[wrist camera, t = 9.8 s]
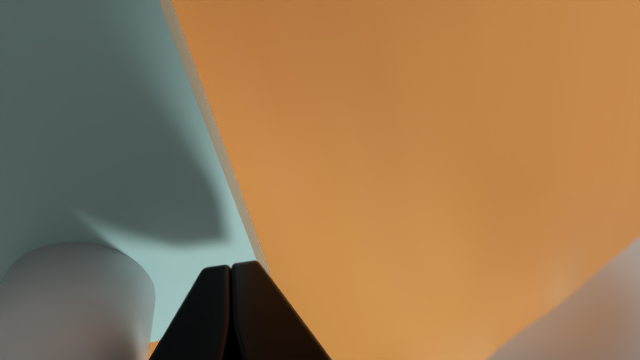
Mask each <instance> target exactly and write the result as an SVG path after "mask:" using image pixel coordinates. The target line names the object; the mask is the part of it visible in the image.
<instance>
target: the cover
mask: <svg viewBox="0 0 640 360" xmlns="http://www.w3.org/2000/svg"><path fill="white" fill-rule="evenodd" d="M252 260H256V261H258V262H259V263H260V264H261V265H262V266H263V268H264V269H265V271H266V272H267V273H268V275H269V276H270V271H269V268H268V266H267V263H266V260H265V257H264V255H263V252H262V249H261V246H260V244H259V241H258V238H257V235H256V233H255V230H254V227H253V224H252V221H251V219H250V216H249V213H248V210H247V208H246V205H245V202H244V199H243V197H242V194H241V191H240V188H239V186H238V183H237V180H236V177H235V175H234V172H233V169H232V166H231V164H230V161H229V158H228V155H227V153H226V150H225V147H224V144H223V142H222V139H221V136H220V133H219V131H218V128H217V125H216V122H215V120H214V117H213V114H212V111H211V109H210V106H209V103H208V100H207V98H206V95H205V92H204V89H203V87H202V84H201V81H200V78H199V76H198V73H197V70H196V67H195V65H194V62H193V59H192V56H191V54H190V51H189V48H188V45H187V43H186V40H185V37H184V34H183V32H182V29H181V26H180V23H179V21H178V18H177V15H176V12H175V10H174V7H173V4H172V1H171V0H0V360H148V352H149V345H150V343H151V342H155V341H158V340H161V338H162V336H163V335H164V333H165V331H166V330H167V328H168V326H169V325H170V323H171V321H172V319H173V318H174V316H175V314H176V313H177V311H178V309H179V308H180V306H181V304H182V303H183V301H184V299H185V297H186V296H187V294H188V292H189V291H190V289H191V287H192V286H193V284H194V282H195V281H196V279H197V277H198V275H199V274H200V272H201V271H202V269H204V268H206V267H211V266H218V265H225V264H227V265H229V266H230V267H232V265H233V264H234V263H238V262H245V261H252Z"/></svg>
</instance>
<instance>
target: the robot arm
mask: <svg viewBox="0 0 640 360" xmlns="http://www.w3.org/2000/svg"><path fill="white" fill-rule="evenodd" d="M149 360H332V359H331V358H330V357H329V355H328V354H327V353H326V351H325V350H324V348H323V347H322V346H321V344H320V343H319V342H318V340H317V339H316V338H315V336H314V335H313V334H312V332H311V331H310V330H309V328H308V327H307V326H306V324H305V323H304V322H303V320H302V319H301V318H300V316H299V315H298V314H297V312H296V311H295V310H294V308H293V307H292V305H291V304H290V303H289V301H288V300H287V299H286V297H285V296H284V295H283V293H282V292H281V291H280V289H279V288H278V287H277V285H276V284H275V283H274V281H273V280H272V279H271V277H270V276H269V275H268V273H267V272H266V271H265V269H264V268H263V266H262V265H261V264H260V263H259V262H258V261H256V260H252V261H245V262H238V263H234V264H233V265H232V267H230V266H229V265H227V264H225V265H218V266H211V267H206V268H204V269H202V271H201V272H200V274H199V275H198V277H197V279H196V281H195V282H194V284H193V286H192V287H191V289H190V291H189V292H188V294H187V296H186V297H185V299H184V301H183V303H182V304H181V306H180V308H179V309H178V311H177V313H176V314H175V316H174V318H173V319H172V321H171V323H170V325H169V326H168V328H167V330H166V331H165V333H164V335H163V336H162V338H161V340H160V342H159V343H158V345H157V347H156V348H155V350H154V352H153V353H152V355H151V357H150V358H149Z"/></svg>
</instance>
